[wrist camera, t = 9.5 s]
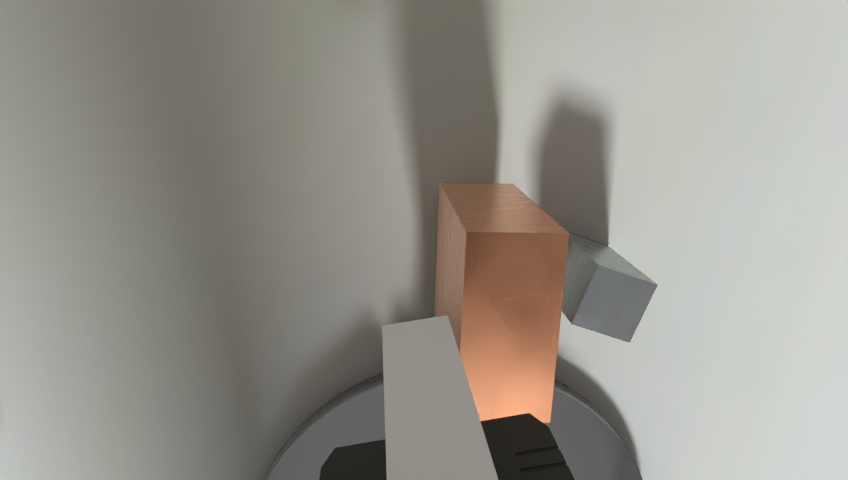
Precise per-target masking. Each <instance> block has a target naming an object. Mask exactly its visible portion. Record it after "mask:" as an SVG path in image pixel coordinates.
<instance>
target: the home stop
mask: <svg viewBox="0 0 848 480" xmlns="http://www.w3.org/2000/svg"><path fill="white" fill-rule="evenodd" d="M656 287H657V284H656V283H655V282H653V281H652V280H651V279H650V278H648V277H647V276H646V275H644V274H643V273H642V272H641V271H639V270H638V269H637V268H635V267H634V266H633V265H632V264H630V263H629V262H628V261H627V260H625V259H624V258H623V257H621V256H620V255H619V254H618V253H616V252H615V251H614V250H613V249H611V248H610V247H608V246H605V245H603V244H600V243H597V242H594V241H591V240H588V239H585V238H583V237H580V236H577V235H574V234H571V233H569V238H568V248H567V258H566V268H565V278H564V288H563V298H562V309H561V310H562V312H563V313H564V314H565V316H566V317H567V318H568V320H569V321H570V322H571V324H574V325H577V326H580V327H583V328H586V329H589V330H592V331H595V332H598V333H602V334H605V335H608V336H611V337H614V338H617V339H620V340H623V341H626V342H629V343H630V341H631V339H632V337H633V334H634V332H635V330H636V328H637V326H638V324H639V322H640V320H641V318H642V316H643V314H644V312H645V310H646V308H647V306H648V304H649V302H650V299H651V297H652V295H653V293H654V291H655V289H656Z"/></svg>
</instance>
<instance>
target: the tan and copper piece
mask: <svg viewBox="0 0 848 480" xmlns="http://www.w3.org/2000/svg"><path fill="white" fill-rule="evenodd" d="M568 238H569V233H568V232H567V231H566V230H565V229H564V228H563V227H562V226H560V225H559V224H558V223H557V222H556V221H555V220H554V219H552V218H551V217H550V216H549V215H548V214H547V213H546V212H544V211H543V210H542V209H541V208H540V207H539V206H538V205H536V204H535V203H534V202H533V201H532V200H531V199H530V198H528V197H527V196H526V195H525V194H524V193H523V192H521V191H520V190H519V189H518V188H517V187H516V186H515V185H513V184H481V183H440V185H439V211H438V237H437V263H436V290H435V316H434V317H438V316H444V315H448V318H449V321H450V324H451V327H452V331H453V334H454V337H455V340H456V344H457V347H458V350H459V353H460V357H461V360H462V363H463V366H464V370H465V373H466V376H467V379H468V383H469V386H470V389H471V392H472V396H473V399H474V402H475V405H476V409H477V412H478V415H479V418H480V421H485V420H490V419H496V418H502V417H508V416H514V415H520V414H526V413H530V414H532V415H533V416H534V417H536V418H537V419H538V420H540V421H541V422H543V423H550V420H551V409H552V399H553V389H554V379H555V369H556V359H557V349H558V339H559V329H560V319H561V309H562V298H563V288H564V278H565V268H566V258H567V248H568Z"/></svg>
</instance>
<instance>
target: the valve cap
mask: <svg viewBox="0 0 848 480" xmlns="http://www.w3.org/2000/svg"><path fill="white" fill-rule="evenodd" d="M544 424H545V425H547V426H548V427H549V429H550V431H551V433H552V435H553V437H554V439H555V441H556V443H557V445H558V448H559V449H560V451H561V453H562V455H563V457H564V459H565V461H566V465H568V467H569V469H570V471H571V473H572V475H573V477H574V479H575V480H642V477H641V475H640V472H639V470H638V467H637V465H636V463H635V461H634V460H633V458H632V456H631V455H630V453H629V451H628V450H627V448H626V446H625V445H624V443H623V442H622V440H621V439H620V437H619V436H618V434H617V433H616V431H615V430H614V429H613V427H612V426H611V425H610V424H609V423H608V421H607V420H606V419H605V418H604V417H603V415H602V414H601V413H600V412H599V411H597V410H596V409H595V408H594V407H593V406H592V405H591V404H590V403H589V402H587V401H586V400H585V399H584V398H583V397H581V396H580V395H578V394H577V393H575V392H574V391H572V390H571V389H569V388H568V387H566V386H565V385H563V384H560V383H558V382H556V381H554V389H553V399H552V409H551V420H550V423H544ZM384 439H385V409H384V377H383V374H380V375H378V376H376V377H373V378H371V379H369V380H367V381H364V382H362V383H360V384H357V385H355V386H354V387H352V388H350V389H349V390H347V391H345V392H344V393H342V394H340V395H338V396H337V397H335V398H333V399H332V400H331V401H329V402H328V403H327V404H325V405H324V406H323V407H322V408H320V409H319V410H318V411H316V412H315V413H314V414H312V415H311V416H310V417H309V418H308V419H307V420H306V421H305V422H304V423H303V424H302V425H301V426H300V427H299V428H298V429H297V430H296V431H295V432H294V434H293V435H292V436H291V438H290V439H289V440H288V441H287V443H286V444H285V445H284V447H283V448H282V449H281V451H280V452H279V454H278V455H277V457H276V459H275V461H274V463H273V464H272V466H271V468H270V470H269V472H268V473H267V476H266V479H265V480H319V478H320V471H321V467H322V465H323V464H324V463H325V461H326V460H327V458H328V457H329V456H330V454H331V453H332V451H333V450H334V448H336V447H342V446H348V445H354V444H360V443H366V442H372V441H378V440H384Z"/></svg>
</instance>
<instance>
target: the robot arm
mask: <svg viewBox="0 0 848 480" xmlns="http://www.w3.org/2000/svg"><path fill="white" fill-rule="evenodd" d="M382 345H383V377H384V409H385V439H384V440H378V441H372V442H366V443H360V444H354V445H348V446H342V447H336V448H334V450H333V451H332V453H331V454H330V456H329V457H328V458H327V460H326V461H325V463H324V464H323V465H322V467H321V471H320V478H319V480H575V479H574V477H573V475H572V473H571V471H570V469H569V467H568V465H566V461H565V459H564V457H563V455H562V453H561V451H560V449H559V448H558V445H557V443H556V441H555V439H554V437H553V435H552V433H551V431H550V429H549V427H548V426H547V425H545V424H544V423H543V422H541V421H540V420H538V419H537V418H536V417H534V416H533V415H532V414H530V413H526V414H520V415H514V416H508V417H502V418H496V419H490V420H485V421H480V418H479V415H478V412H477V409H476V405H475V402H474V399H473V396H472V392H471V389H470V386H469V383H468V379H467V376H466V373H465V370H464V366H463V363H462V360H461V357H460V353H459V350H458V347H457V344H456V340H455V337H454V334H453V331H452V327H451V324H450V321H449V318H448V315H444V316H438V317H432V318H426V319H419V320H413V321H407V322H401V323H395V324H388V325H382Z"/></svg>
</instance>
